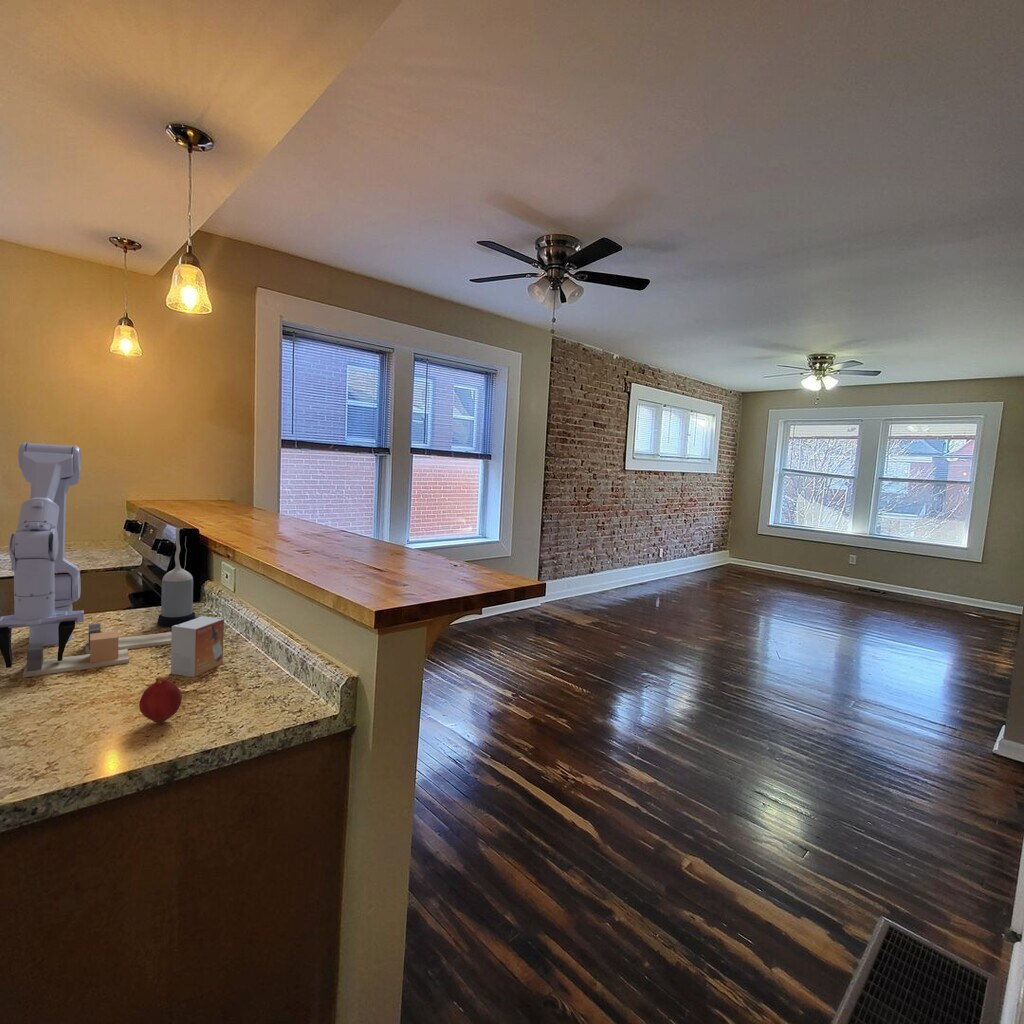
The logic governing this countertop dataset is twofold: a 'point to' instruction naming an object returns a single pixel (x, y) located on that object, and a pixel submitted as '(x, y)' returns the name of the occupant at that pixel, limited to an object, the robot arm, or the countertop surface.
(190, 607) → the humidifier
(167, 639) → the far strip
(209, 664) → the small box
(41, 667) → the near strip
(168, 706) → the onion
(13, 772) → the countertop surface
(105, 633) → the block
